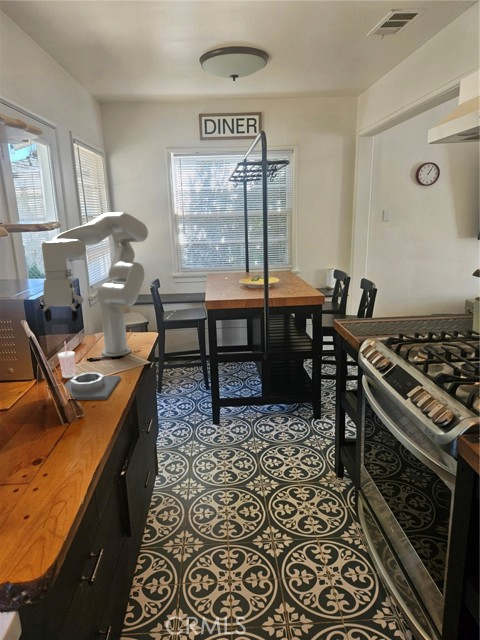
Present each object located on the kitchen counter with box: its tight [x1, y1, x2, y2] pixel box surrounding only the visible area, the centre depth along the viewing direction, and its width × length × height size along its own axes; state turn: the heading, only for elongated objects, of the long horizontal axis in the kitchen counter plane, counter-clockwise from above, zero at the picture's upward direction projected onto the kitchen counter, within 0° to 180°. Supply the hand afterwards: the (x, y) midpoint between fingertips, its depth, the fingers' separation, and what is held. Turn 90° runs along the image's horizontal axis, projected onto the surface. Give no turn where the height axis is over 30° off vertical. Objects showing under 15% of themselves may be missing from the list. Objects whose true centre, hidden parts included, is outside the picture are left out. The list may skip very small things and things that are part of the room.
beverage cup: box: [57, 340, 76, 379], centre depth 157 cm, size 6×6×14 cm
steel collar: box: [71, 371, 105, 392], centre depth 146 cm, size 10×10×3 cm
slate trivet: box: [63, 375, 121, 401], centre depth 146 cm, size 18×18×1 cm
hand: (62, 320), depth 153 cm, fingers open, 9 cm apart
